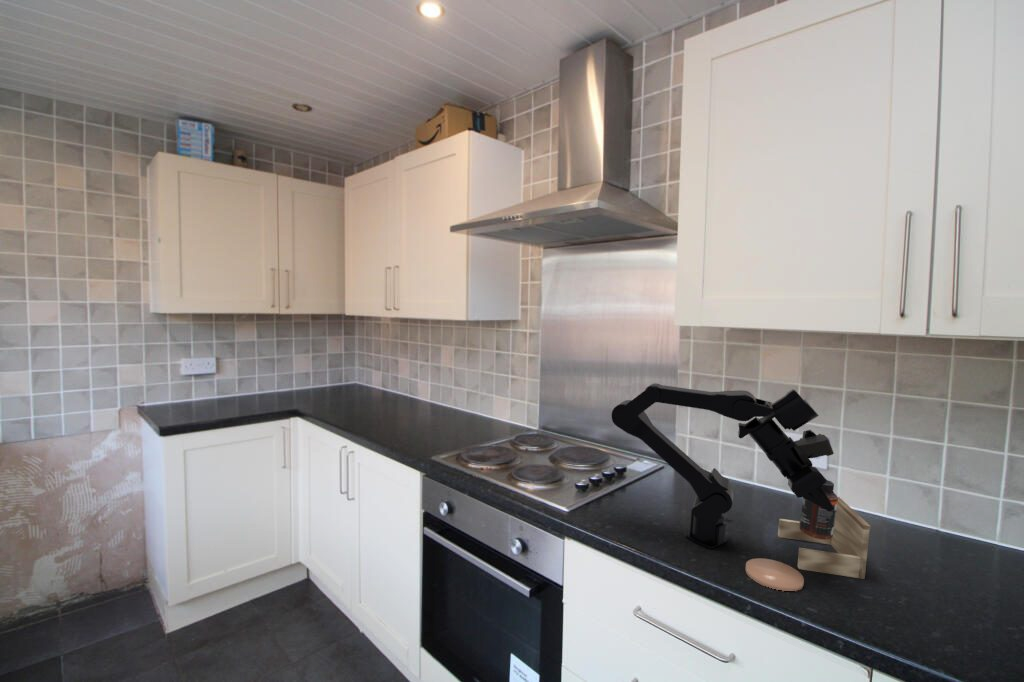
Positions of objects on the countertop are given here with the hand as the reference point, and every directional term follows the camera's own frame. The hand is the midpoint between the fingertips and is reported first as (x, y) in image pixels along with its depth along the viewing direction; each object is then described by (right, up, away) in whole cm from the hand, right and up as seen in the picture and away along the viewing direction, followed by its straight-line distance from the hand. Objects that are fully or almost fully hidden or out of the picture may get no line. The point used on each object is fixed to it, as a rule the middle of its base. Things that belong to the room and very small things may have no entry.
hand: (827, 504), depth 99 cm
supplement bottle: (-2, -7, +1) cm, 7 cm away
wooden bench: (+1, -13, +5) cm, 13 cm away
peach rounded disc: (-13, -13, -4) cm, 19 cm away
